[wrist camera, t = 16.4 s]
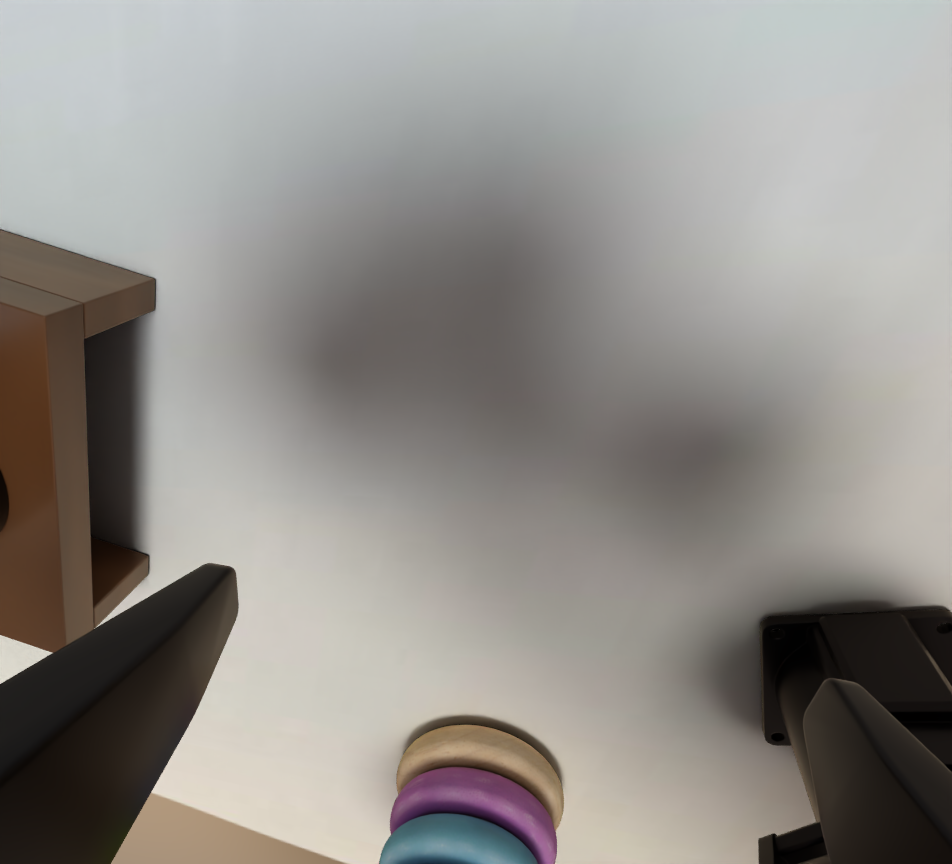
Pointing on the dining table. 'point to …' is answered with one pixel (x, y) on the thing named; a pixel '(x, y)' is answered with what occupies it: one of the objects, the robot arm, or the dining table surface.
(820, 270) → the dining table surface
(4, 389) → the drawer
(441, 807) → the stacking toy
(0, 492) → the canister
